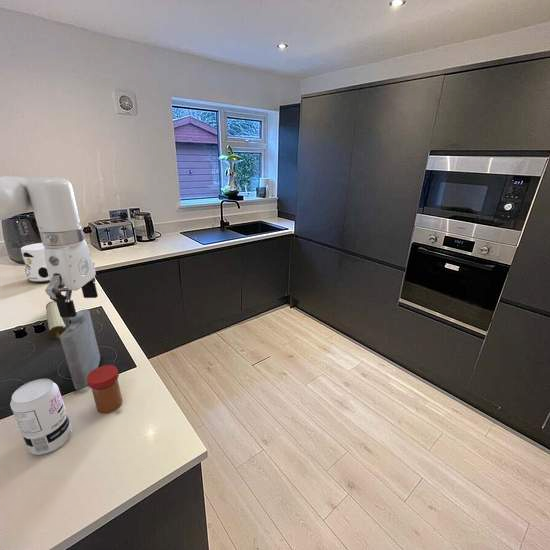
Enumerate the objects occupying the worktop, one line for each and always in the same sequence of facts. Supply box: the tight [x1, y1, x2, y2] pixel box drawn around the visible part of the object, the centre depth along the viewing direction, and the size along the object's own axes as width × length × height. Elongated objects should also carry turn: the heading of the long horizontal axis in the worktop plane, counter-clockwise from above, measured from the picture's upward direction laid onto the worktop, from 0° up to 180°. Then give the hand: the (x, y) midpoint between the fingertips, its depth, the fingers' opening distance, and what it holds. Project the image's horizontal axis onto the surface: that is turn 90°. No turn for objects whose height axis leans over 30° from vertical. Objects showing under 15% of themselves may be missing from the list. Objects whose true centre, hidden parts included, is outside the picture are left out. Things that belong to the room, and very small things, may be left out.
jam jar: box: [90, 378, 123, 415], centre depth 75 cm, size 6×6×10 cm
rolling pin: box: [45, 300, 67, 340], centre depth 113 cm, size 32×6×5 cm, turn 38°
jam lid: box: [87, 364, 120, 390], centre depth 74 cm, size 7×7×2 cm
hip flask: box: [59, 308, 101, 391], centre depth 85 cm, size 16×4×20 cm, turn 15°
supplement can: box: [9, 378, 73, 455], centre depth 64 cm, size 8×8×15 cm
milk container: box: [20, 242, 50, 283], centre depth 152 cm, size 17×17×18 cm
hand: (80, 306), depth 69 cm, fingers open, 9 cm apart
